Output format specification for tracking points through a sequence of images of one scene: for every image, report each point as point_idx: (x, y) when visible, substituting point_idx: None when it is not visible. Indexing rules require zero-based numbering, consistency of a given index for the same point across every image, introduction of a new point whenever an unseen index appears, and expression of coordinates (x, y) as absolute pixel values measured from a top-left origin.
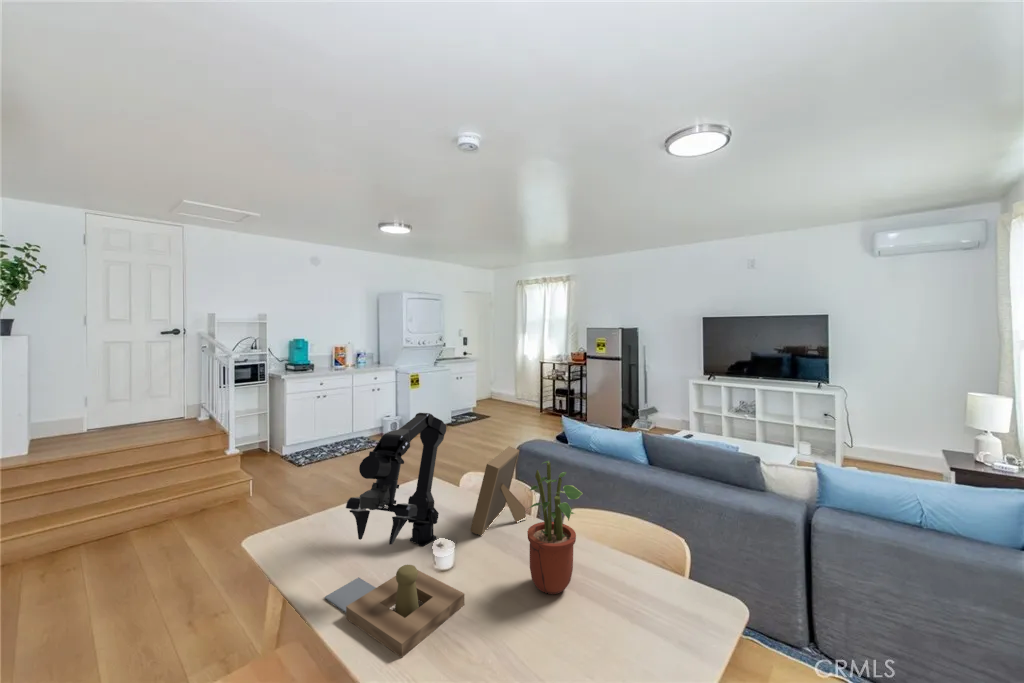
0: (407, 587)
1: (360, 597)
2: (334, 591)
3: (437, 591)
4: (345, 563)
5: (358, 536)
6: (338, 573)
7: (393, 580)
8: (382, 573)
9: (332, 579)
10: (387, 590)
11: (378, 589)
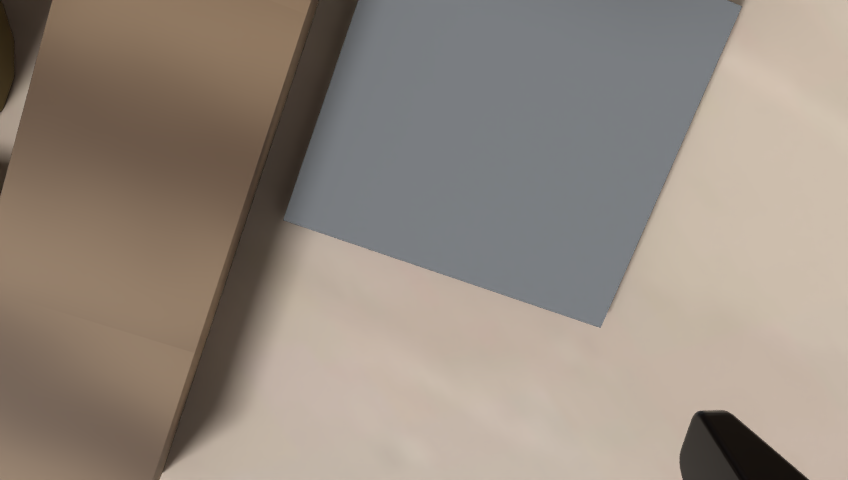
0: None
1: (415, 84)
2: (697, 96)
3: None
4: (828, 472)
5: (755, 441)
6: (811, 340)
7: (163, 288)
8: (435, 446)
9: (815, 256)
10: (124, 129)
11: (225, 117)
